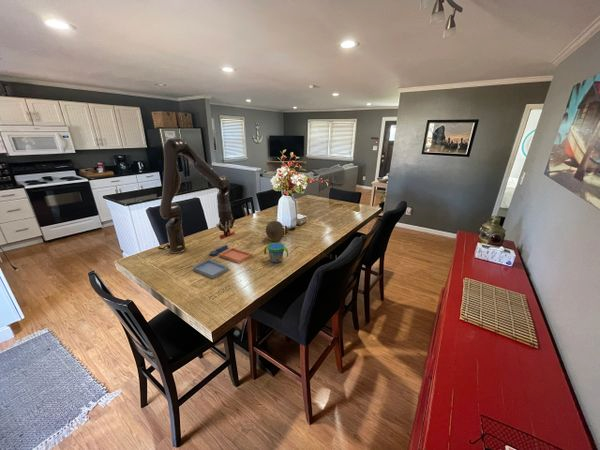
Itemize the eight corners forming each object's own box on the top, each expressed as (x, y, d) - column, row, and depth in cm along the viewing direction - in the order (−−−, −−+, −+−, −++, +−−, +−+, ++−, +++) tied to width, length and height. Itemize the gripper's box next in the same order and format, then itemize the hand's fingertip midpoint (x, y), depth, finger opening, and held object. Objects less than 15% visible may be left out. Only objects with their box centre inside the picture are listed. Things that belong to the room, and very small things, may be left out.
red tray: (220, 256, 156) (219, 253, 155) (233, 250, 165) (232, 247, 164) (239, 263, 147) (239, 260, 147) (251, 256, 156) (251, 253, 156)
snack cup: (291, 258, 154) (290, 244, 150) (284, 266, 144) (283, 251, 141) (269, 254, 159) (268, 240, 155) (261, 261, 150) (260, 247, 146)
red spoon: (236, 233, 148) (235, 229, 148) (230, 235, 144) (229, 231, 144) (224, 238, 156) (222, 234, 156) (218, 240, 152) (216, 237, 152)
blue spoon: (213, 256, 156) (213, 253, 155) (208, 254, 158) (208, 251, 157) (229, 249, 166) (229, 245, 166) (224, 247, 169) (224, 244, 168)
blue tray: (193, 270, 140) (192, 267, 139) (209, 262, 149) (208, 259, 148) (212, 278, 131) (212, 275, 131) (228, 269, 140) (228, 266, 140)
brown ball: (288, 240, 182) (288, 221, 177) (274, 245, 172) (273, 226, 167) (276, 235, 191) (275, 217, 186) (262, 240, 181) (261, 221, 176)
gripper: (228, 206, 152) (231, 231, 157) (211, 211, 141) (214, 238, 147) (237, 207, 148) (239, 233, 154) (219, 213, 137) (222, 241, 143)
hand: (227, 236), depth 150 cm, fingers closed on red spoon, 1 cm apart
